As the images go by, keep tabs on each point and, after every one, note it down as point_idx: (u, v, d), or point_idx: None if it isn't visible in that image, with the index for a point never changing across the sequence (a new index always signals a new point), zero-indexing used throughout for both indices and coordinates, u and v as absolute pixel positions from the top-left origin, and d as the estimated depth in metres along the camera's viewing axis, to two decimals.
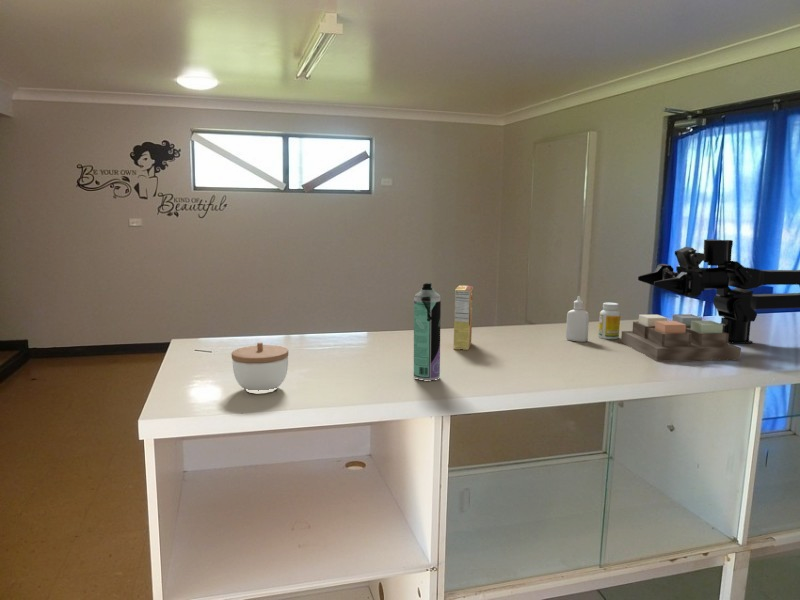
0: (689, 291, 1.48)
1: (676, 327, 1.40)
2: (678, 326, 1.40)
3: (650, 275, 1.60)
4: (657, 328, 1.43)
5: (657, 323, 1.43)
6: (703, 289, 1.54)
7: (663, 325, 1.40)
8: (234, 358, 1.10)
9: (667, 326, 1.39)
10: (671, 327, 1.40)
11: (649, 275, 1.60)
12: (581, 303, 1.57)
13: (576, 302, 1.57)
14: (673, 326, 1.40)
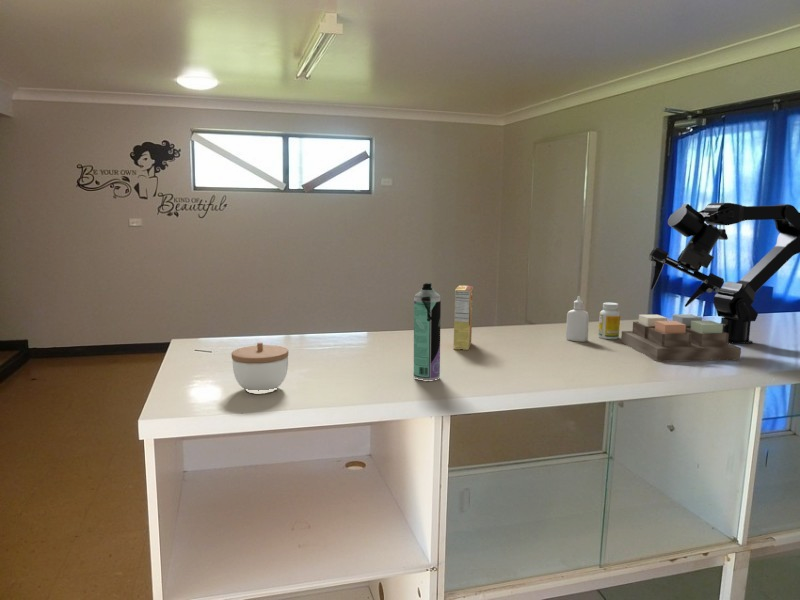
0: (712, 288, 1.52)
1: (676, 327, 1.40)
2: (678, 326, 1.40)
3: (658, 277, 1.54)
4: (657, 328, 1.43)
5: (657, 323, 1.43)
6: None
7: (663, 325, 1.40)
8: (234, 358, 1.10)
9: (667, 326, 1.39)
10: (671, 327, 1.40)
11: (657, 278, 1.54)
12: (581, 303, 1.57)
13: (576, 302, 1.57)
14: (673, 326, 1.40)
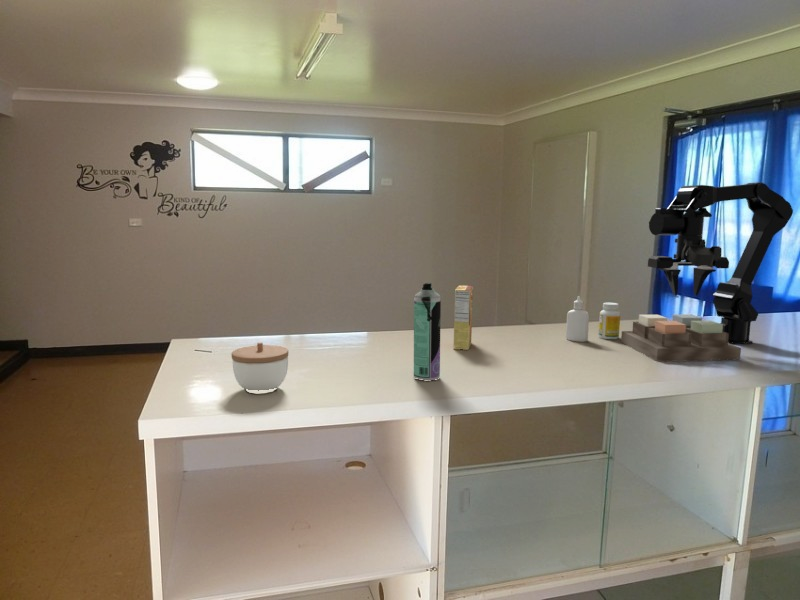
0: None
1: (676, 327, 1.40)
2: (678, 326, 1.40)
3: None
4: (657, 328, 1.43)
5: (657, 323, 1.43)
6: None
7: (663, 325, 1.40)
8: (234, 358, 1.10)
9: (667, 326, 1.39)
10: (671, 327, 1.40)
11: None
12: (581, 303, 1.57)
13: (576, 302, 1.57)
14: (673, 326, 1.40)
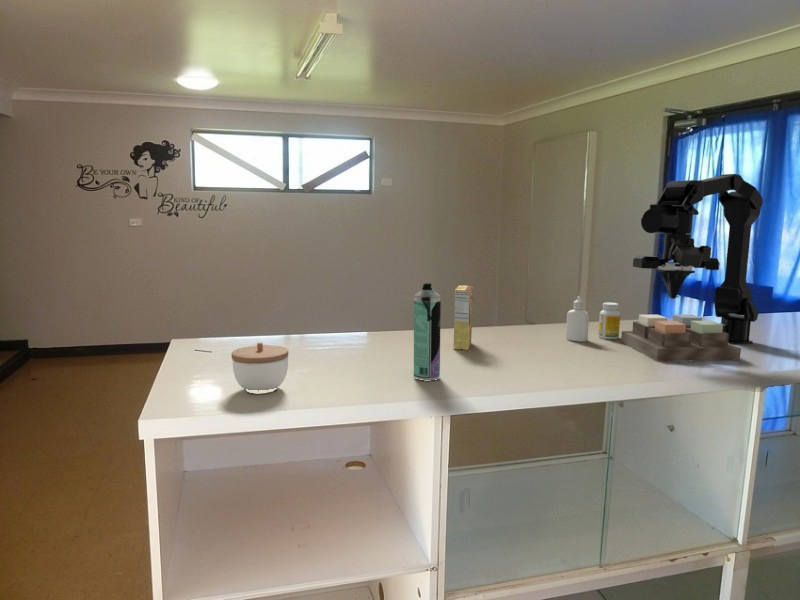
0: None
1: (676, 327, 1.40)
2: (678, 326, 1.40)
3: None
4: (657, 328, 1.43)
5: (657, 323, 1.43)
6: None
7: (663, 325, 1.40)
8: (234, 358, 1.10)
9: (667, 326, 1.39)
10: (671, 327, 1.40)
11: None
12: (581, 303, 1.57)
13: (576, 302, 1.57)
14: (673, 326, 1.40)
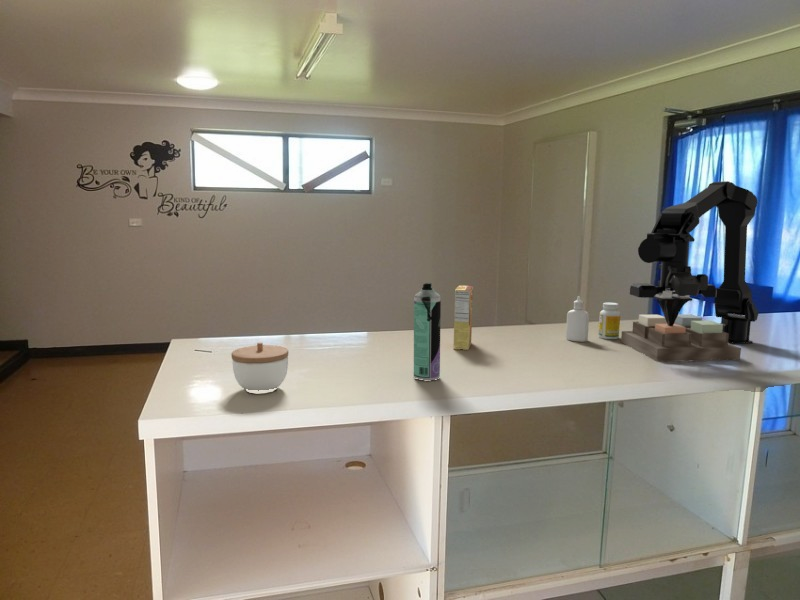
0: None
1: (676, 330, 1.40)
2: (678, 329, 1.40)
3: None
4: None
5: (657, 326, 1.43)
6: None
7: (663, 328, 1.40)
8: (234, 358, 1.10)
9: (667, 329, 1.40)
10: (671, 330, 1.40)
11: None
12: (581, 303, 1.57)
13: (576, 302, 1.57)
14: (673, 329, 1.40)
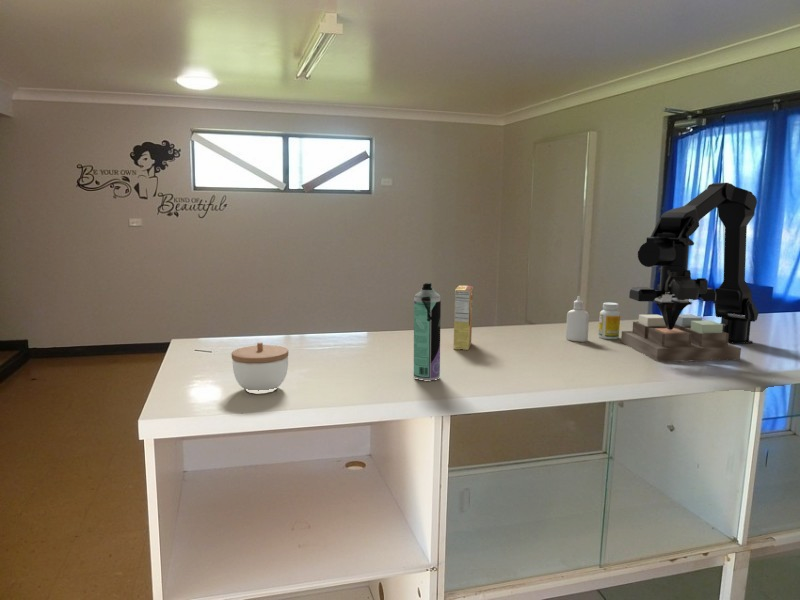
0: None
1: None
2: None
3: None
4: None
5: None
6: None
7: None
8: (234, 358, 1.10)
9: None
10: None
11: None
12: (581, 303, 1.57)
13: (576, 302, 1.57)
14: None
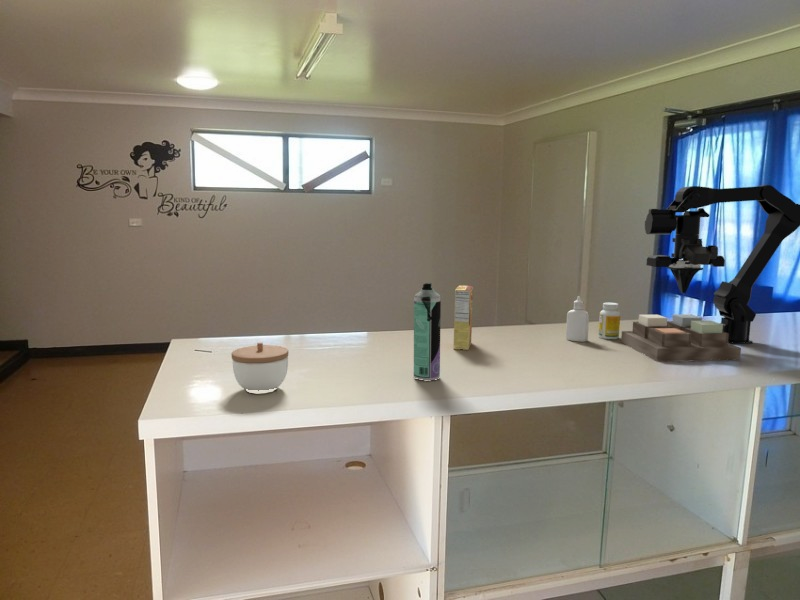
0: None
1: None
2: None
3: None
4: None
5: None
6: None
7: None
8: (234, 358, 1.10)
9: None
10: None
11: None
12: (581, 303, 1.57)
13: (576, 302, 1.57)
14: None
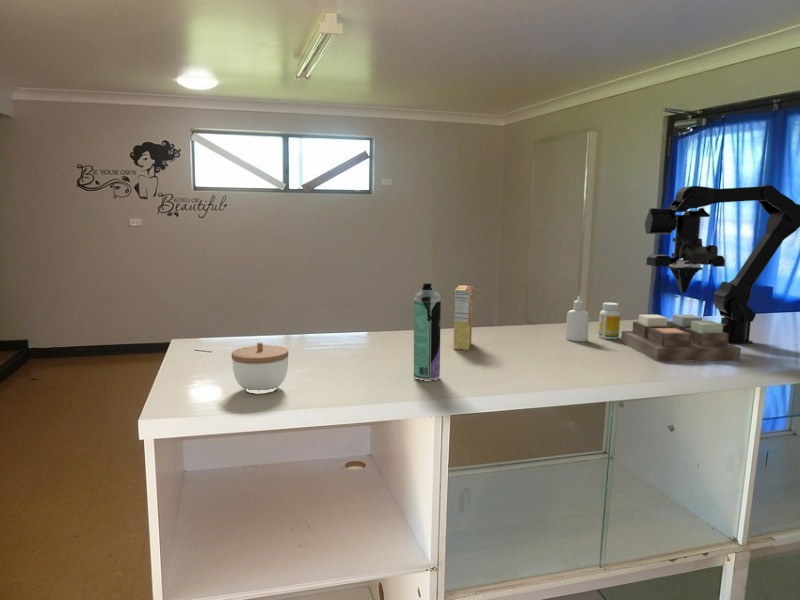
0: None
1: None
2: None
3: None
4: None
5: None
6: None
7: None
8: (234, 358, 1.10)
9: None
10: None
11: None
12: (581, 303, 1.57)
13: (576, 302, 1.57)
14: None
